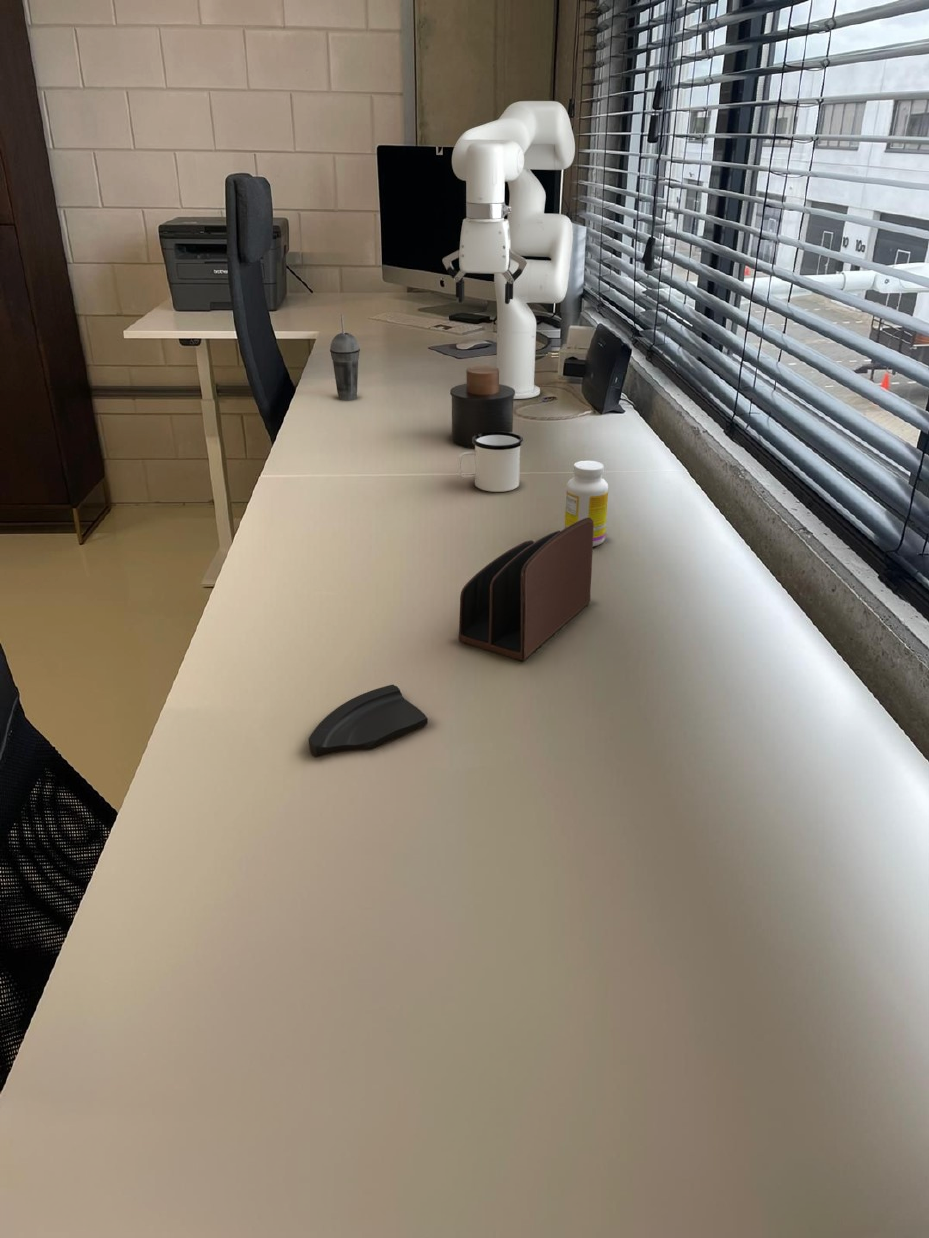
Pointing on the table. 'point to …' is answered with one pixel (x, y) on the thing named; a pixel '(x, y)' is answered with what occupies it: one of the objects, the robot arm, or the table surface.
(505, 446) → the mug
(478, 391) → the short brown cylinder
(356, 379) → the beverage cup
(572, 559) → the letter holder
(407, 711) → the fan shaped piece
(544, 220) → the robot arm
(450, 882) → the table surface
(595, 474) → the supplement bottle
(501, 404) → the pot
